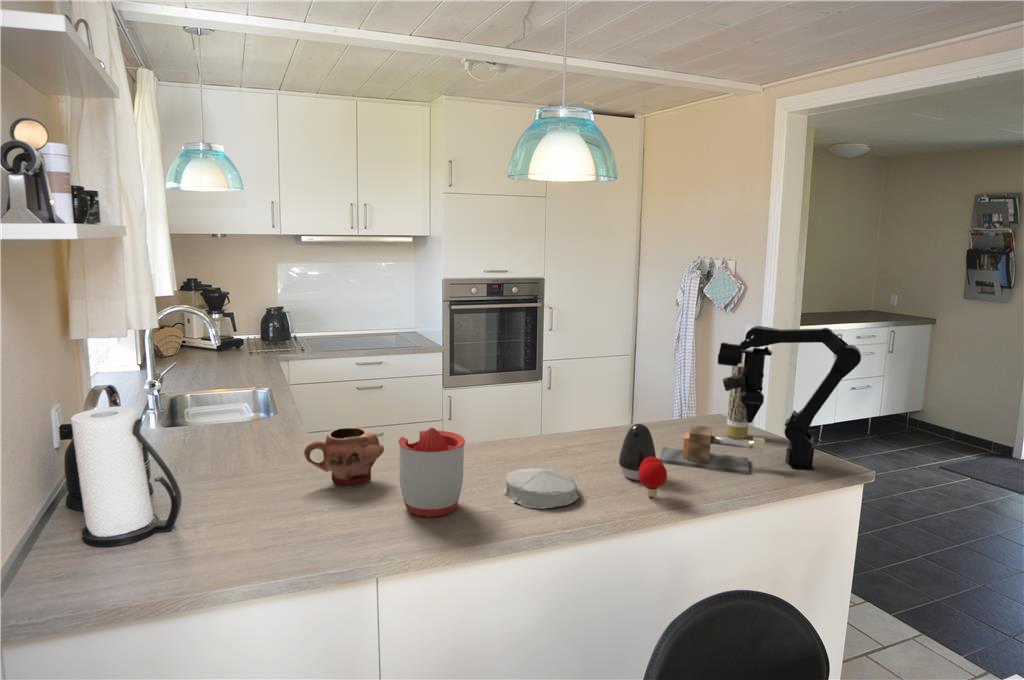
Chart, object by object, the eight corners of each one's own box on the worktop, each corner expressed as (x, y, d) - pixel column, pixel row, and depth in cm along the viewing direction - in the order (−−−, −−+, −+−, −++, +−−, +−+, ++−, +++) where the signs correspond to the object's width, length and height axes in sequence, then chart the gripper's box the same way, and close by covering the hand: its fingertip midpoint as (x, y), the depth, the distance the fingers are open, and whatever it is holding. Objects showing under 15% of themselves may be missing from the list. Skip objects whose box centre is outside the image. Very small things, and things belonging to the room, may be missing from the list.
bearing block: (747, 460, 201) (750, 430, 199) (748, 474, 189) (751, 442, 188) (663, 450, 208) (665, 420, 207) (659, 462, 197) (661, 431, 195)
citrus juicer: (427, 488, 172) (428, 413, 169) (477, 507, 161) (479, 427, 158) (379, 506, 160) (379, 425, 157) (430, 528, 149) (431, 442, 146)
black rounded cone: (612, 479, 182) (615, 425, 180) (624, 467, 191) (627, 416, 189) (648, 486, 178) (652, 431, 175) (659, 474, 187) (663, 422, 184)
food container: (491, 485, 177) (491, 461, 176) (560, 476, 184) (560, 453, 183) (518, 517, 158) (519, 490, 157) (593, 506, 165) (594, 480, 164)
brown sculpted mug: (309, 497, 164) (308, 442, 162) (301, 480, 175) (300, 428, 173) (389, 486, 172) (389, 434, 170) (377, 470, 183) (377, 421, 181)
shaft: (762, 450, 195) (764, 438, 194) (763, 453, 191) (764, 441, 191) (699, 442, 200) (700, 430, 200) (698, 445, 197) (699, 434, 196)
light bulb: (668, 505, 166) (671, 466, 164) (640, 504, 166) (643, 465, 164) (661, 490, 175) (663, 454, 174) (634, 489, 175) (636, 453, 174)
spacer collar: (688, 453, 203) (690, 432, 202) (687, 459, 197) (689, 438, 196) (684, 452, 203) (685, 432, 202) (682, 458, 198) (684, 438, 197)
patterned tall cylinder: (744, 433, 228) (751, 362, 224) (749, 440, 221) (756, 366, 217) (724, 432, 229) (730, 361, 225) (728, 438, 222) (734, 365, 218)
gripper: (725, 360, 211) (721, 408, 214) (725, 371, 194) (720, 423, 196) (763, 363, 208) (758, 412, 210) (766, 375, 190) (761, 428, 193)
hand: (749, 418), depth 202 cm, fingers open, 9 cm apart
